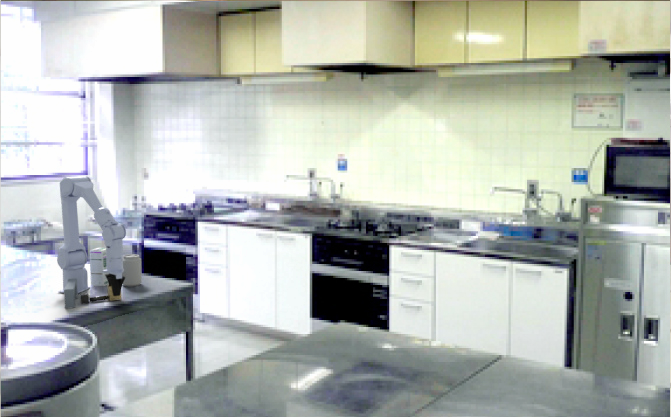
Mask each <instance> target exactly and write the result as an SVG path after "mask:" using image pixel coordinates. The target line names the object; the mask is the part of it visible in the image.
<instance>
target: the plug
mask: <svg viewBox="0 0 671 417" xmlns="http://www.w3.org/2000/svg"><path fill="white" fill-rule="evenodd" d="M106 286H107V287H106V288H107V294H106V295H100V296H92V297H89V292H81V293H79V294H80V295H79V296H80V304H82V305H85V304H89V303H94V302H102V301H108V300H109V301H110V302H111V301H118V300H122V298H123V297H122V292H121V293H120V296H114V295H113V291H112V286H111V284H110V285H109V284H108V285H106Z"/></svg>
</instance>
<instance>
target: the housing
mask: <svg viewBox="0 0 671 417" xmlns="http://www.w3.org/2000/svg"><path fill="white" fill-rule="evenodd" d="M63 294H64V309H74V308H75V306H76V299H78V293H77V279H68V281H67V284H66V286H65V289H64V293H63Z"/></svg>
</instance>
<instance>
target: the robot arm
mask: <svg viewBox="0 0 671 417" xmlns="http://www.w3.org/2000/svg"><path fill="white" fill-rule="evenodd" d="M59 192H60V200H61V201H60V202H61V216H62V231H63V243H62V245H61V246H59V248H58V250H57V251H58V252H57V253H58V254H57V258H56V260H57V265H58V266H59V268H60V269H61V270H62V289H61V290H59V291H58V293H61V294H64V289H65V286H66V284H67V281H68V279H77V294H81V293H83V292H84V291H87V290H88V289H91V286H89V280H88V277H89V276H88V269H86V267H85V265H86V264H87V263H88V258H89V256H88V253H87V251H86V246H85V245H84V244H83V243H82V242H80V230H79V217H78V202H77V201H79V199H80V198H82V199H83V200H84V201H85V202H86V204H87V205H88V206H89V208H90V209H91V210H92V211H93V218H94V219H95V221H96V223H97V224H98V227H100V229H101V230H102V232H101V237H102V238H103V241H104V246H105V248H106V270H103V272H104V273H109V274H105V276H106V278H107V280H108V283H109V284H108V285H110V284H111V286H112V291H113V295H114V296H120V293H121V294H122V287H123V282H124V280H125V277H124V276H123V277H122V273H123V271H124V269H123V258H124V257H123V256H124V252H123V251H124V250H123V249H124V248H123V247H124V245H123V244H124V243H123V241H124V240H123V239H125V238H126V235H127V230H126V227H125V225H124V224H122V223H120V222H119V221H117V220H116V219H115V218H114V216H113V214H112V213H111V211H110V209H109V208H107V207H103V205H102V203H101V202H100V199H99V198H98V196H97V194H96V192H95V191H94V182H92V179H91V177H89V176H88V175H83V176H70V177H69V176H66V177H64V178H62V179H61V181H60V182H59Z"/></svg>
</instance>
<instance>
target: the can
mask: <svg viewBox="0 0 671 417" xmlns="http://www.w3.org/2000/svg"><path fill="white" fill-rule="evenodd" d="M123 269H124V271H123V273H122V277H123V276H124V277H125V280H124V282H123V284H122V286H124V287H132V288H133V287H138V286H140V284H142V283H143V282H142V280H143V279H142V258H141V257H140V255H139V254H131V253H130V254H123Z"/></svg>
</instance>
